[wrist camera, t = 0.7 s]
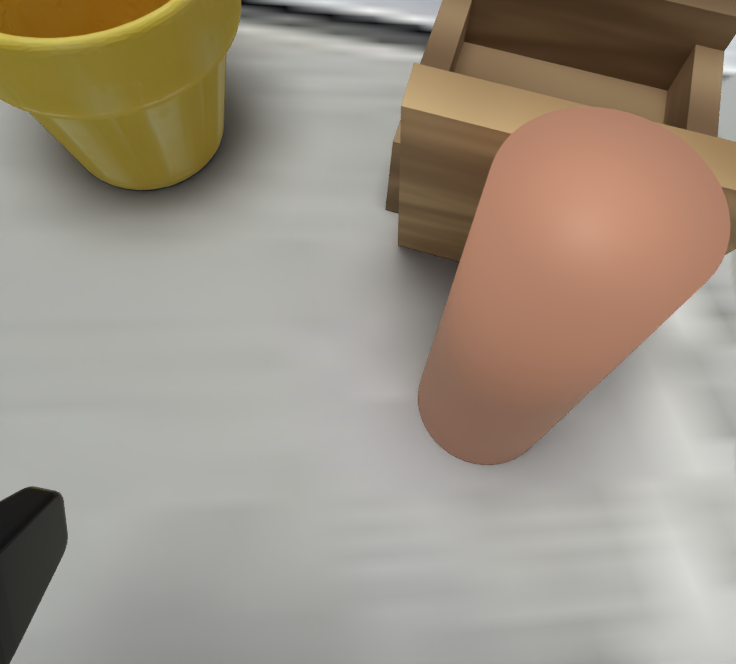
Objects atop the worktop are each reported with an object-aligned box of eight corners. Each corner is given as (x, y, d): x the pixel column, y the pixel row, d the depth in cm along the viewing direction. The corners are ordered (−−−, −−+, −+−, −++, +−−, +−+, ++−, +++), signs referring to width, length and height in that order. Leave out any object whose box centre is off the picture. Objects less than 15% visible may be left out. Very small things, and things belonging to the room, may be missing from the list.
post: (563, 452, 25) (771, 288, 13) (434, 475, 24) (525, 326, 12) (526, 332, 27) (676, 95, 15) (406, 351, 26) (462, 120, 14)
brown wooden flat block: (618, 374, 26) (817, 201, 15) (377, 307, 27) (401, 96, 16) (632, 283, 28) (820, 68, 17) (405, 223, 29) (443, -20, 18)
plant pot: (-2, 215, 28) (-162, 21, 19) (69, 41, 32) (-34, -184, 23) (239, 242, 28) (192, 60, 19) (278, 64, 32) (255, -153, 23)
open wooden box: (656, 281, 28) (734, 196, 22) (385, 209, 29) (396, 111, 23) (677, 103, 32) (747, -5, 27) (440, 46, 33) (460, -70, 28)
